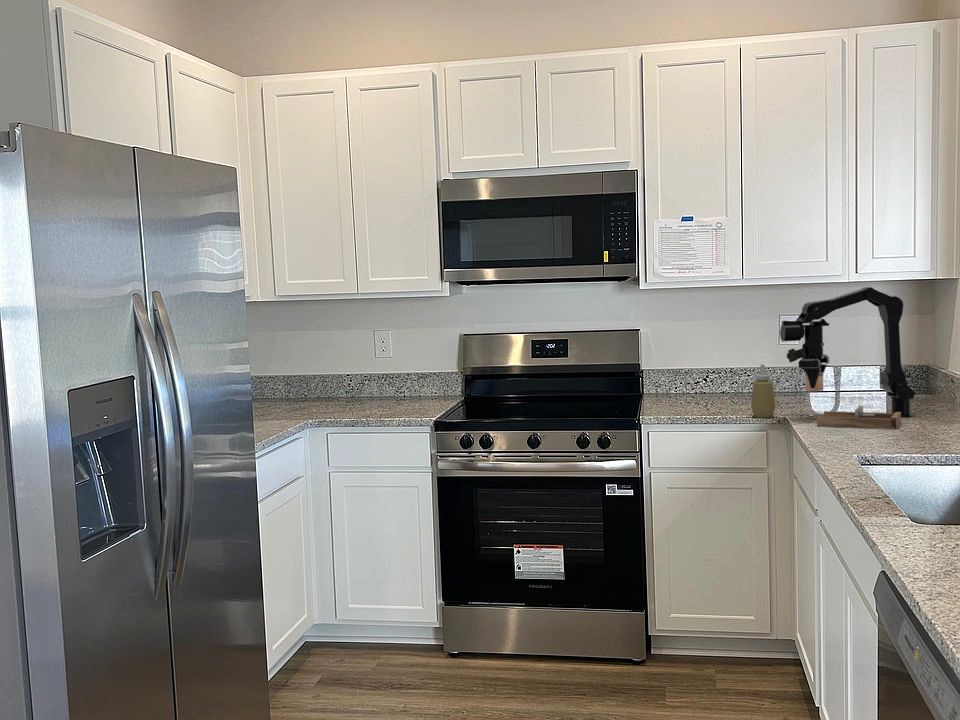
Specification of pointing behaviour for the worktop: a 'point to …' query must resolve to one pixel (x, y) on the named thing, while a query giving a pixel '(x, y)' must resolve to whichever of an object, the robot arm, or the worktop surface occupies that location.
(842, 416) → the tray
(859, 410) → the pusher
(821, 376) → the jar
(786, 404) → the worktop surface
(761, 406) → the squeeze bottle
